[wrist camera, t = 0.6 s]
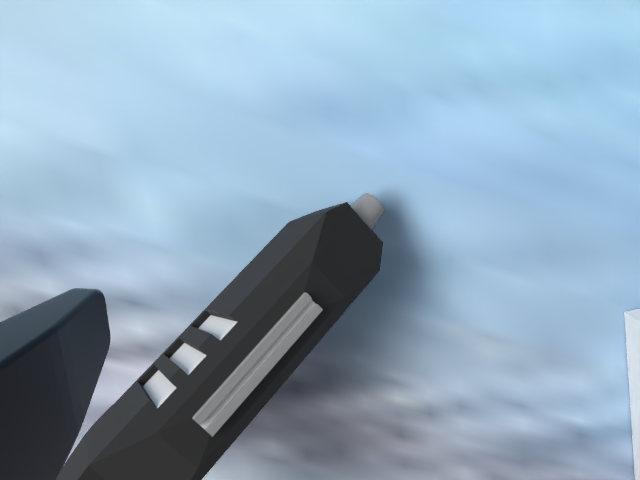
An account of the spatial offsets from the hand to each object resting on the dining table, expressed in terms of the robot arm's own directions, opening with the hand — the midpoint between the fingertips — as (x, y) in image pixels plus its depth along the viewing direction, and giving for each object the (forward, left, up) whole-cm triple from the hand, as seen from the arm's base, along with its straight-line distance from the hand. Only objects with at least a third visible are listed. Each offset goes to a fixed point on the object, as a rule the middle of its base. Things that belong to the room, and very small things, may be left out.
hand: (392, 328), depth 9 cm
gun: (-5, +5, -14) cm, 16 cm away
